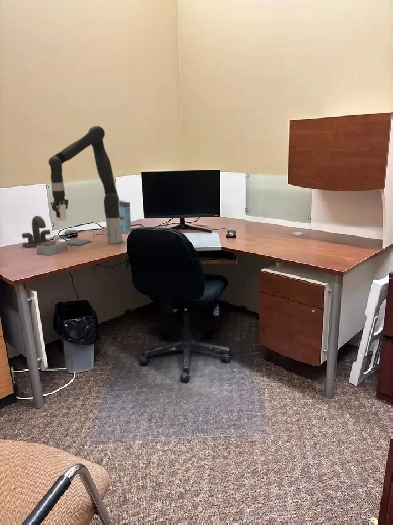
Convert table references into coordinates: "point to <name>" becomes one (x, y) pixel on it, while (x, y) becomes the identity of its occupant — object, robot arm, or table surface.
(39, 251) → the grey box
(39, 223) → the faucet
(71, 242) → the mat
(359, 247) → the table surface
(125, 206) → the gum box
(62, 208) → the block
